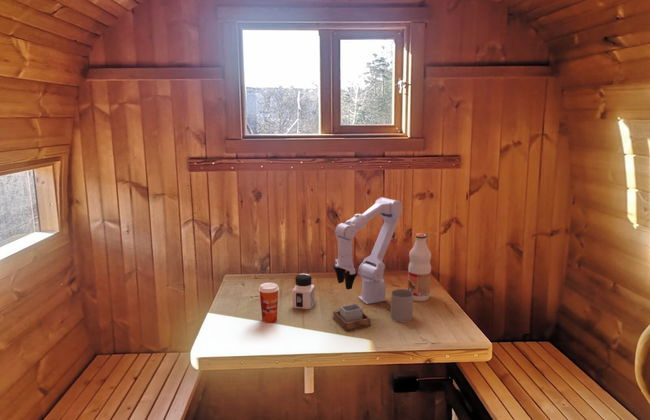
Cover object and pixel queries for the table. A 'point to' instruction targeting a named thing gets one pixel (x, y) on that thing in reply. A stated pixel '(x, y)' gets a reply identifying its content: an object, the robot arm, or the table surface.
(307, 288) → the container
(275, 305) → the paper cup
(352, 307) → the gray crate
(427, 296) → the fruit juice
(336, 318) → the walnut crate
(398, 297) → the cup
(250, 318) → the table surface
